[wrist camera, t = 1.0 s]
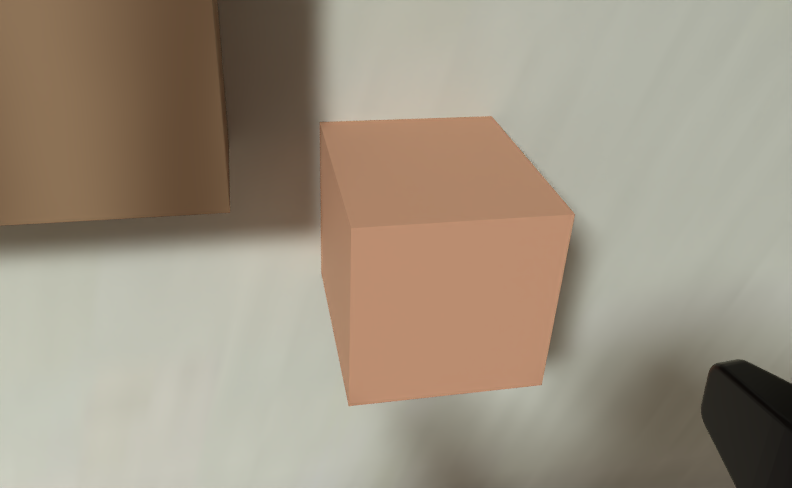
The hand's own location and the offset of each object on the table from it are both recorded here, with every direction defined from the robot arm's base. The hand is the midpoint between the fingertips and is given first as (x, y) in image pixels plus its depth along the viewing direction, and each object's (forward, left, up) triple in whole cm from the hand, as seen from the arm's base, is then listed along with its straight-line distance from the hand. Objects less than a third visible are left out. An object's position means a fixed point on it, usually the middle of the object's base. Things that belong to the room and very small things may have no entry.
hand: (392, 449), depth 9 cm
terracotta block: (-3, +3, -12) cm, 13 cm away
